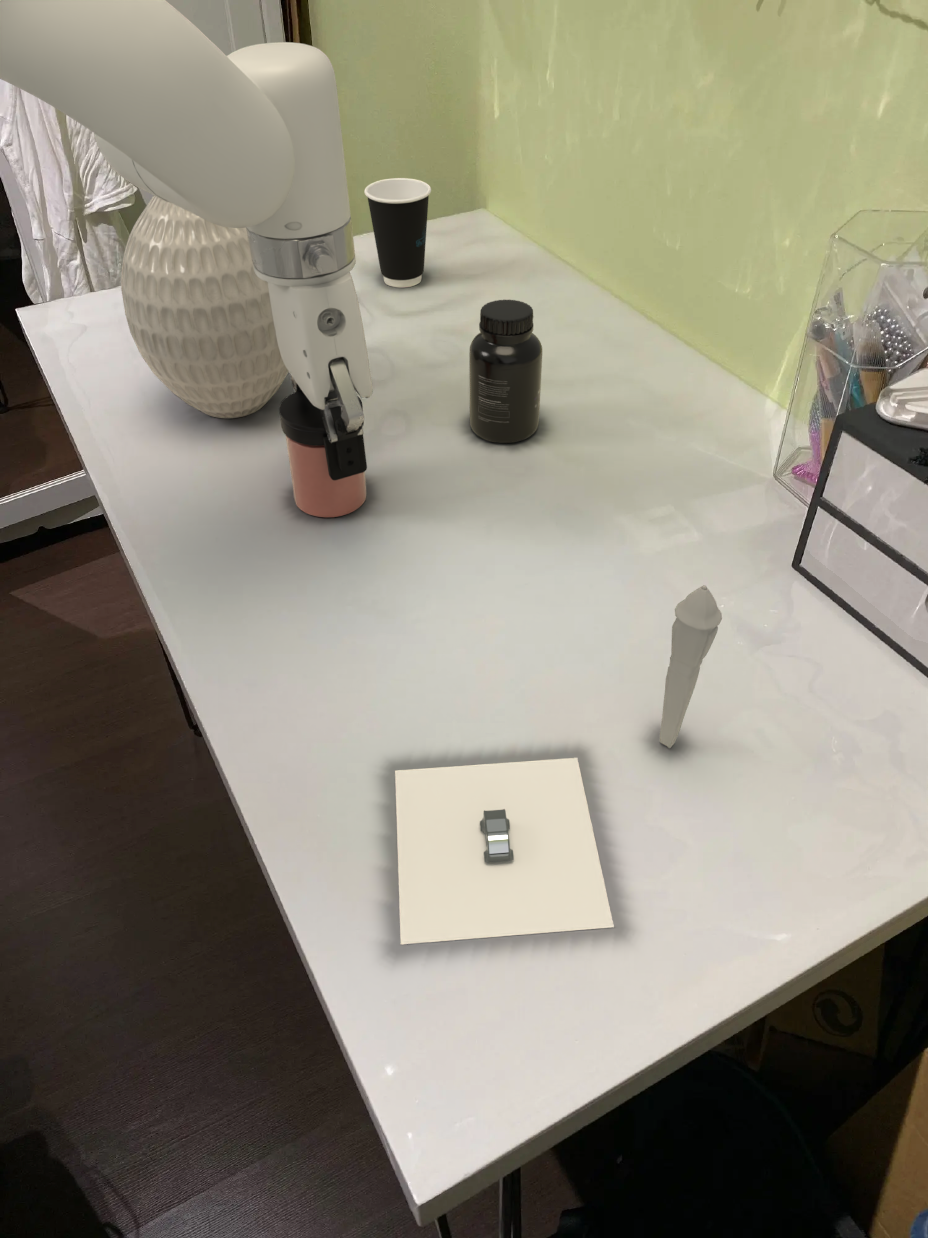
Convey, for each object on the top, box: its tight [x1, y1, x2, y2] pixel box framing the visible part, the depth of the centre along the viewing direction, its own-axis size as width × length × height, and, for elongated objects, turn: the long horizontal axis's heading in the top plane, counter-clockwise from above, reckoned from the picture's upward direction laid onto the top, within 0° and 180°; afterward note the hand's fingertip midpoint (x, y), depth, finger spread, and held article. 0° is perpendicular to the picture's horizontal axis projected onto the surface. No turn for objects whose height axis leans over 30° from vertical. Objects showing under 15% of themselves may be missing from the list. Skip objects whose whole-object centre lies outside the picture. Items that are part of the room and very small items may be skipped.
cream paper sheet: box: [394, 757, 615, 945], centre depth 55 cm, size 12×12×2 cm
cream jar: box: [285, 435, 368, 518], centre depth 78 cm, size 6×6×8 cm
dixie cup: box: [364, 177, 432, 289], centre depth 112 cm, size 8×8×11 cm
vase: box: [120, 195, 289, 419], centre depth 86 cm, size 16×16×22 cm
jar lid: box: [278, 390, 365, 446], centre depth 76 cm, size 7×7×2 cm
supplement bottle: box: [468, 299, 543, 444], centre depth 85 cm, size 7×7×12 cm
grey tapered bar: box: [659, 585, 723, 749], centre depth 56 cm, size 2×3×14 cm
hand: (332, 450), depth 78 cm, fingers closed on jar lid, 6 cm apart
